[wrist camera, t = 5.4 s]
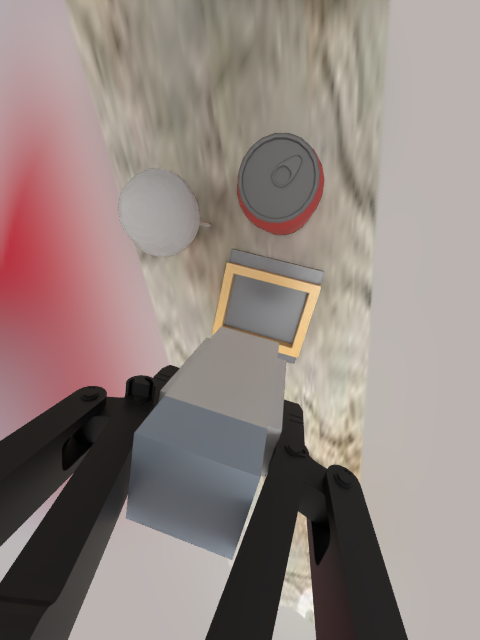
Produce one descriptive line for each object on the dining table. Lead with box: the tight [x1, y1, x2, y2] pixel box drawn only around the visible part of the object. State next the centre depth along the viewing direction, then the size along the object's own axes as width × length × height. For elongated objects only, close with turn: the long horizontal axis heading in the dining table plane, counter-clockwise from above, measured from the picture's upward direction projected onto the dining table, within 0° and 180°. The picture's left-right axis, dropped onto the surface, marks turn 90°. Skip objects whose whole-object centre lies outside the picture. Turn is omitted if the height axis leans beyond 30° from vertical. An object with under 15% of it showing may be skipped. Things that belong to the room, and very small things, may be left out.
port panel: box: [212, 249, 324, 364], centre depth 32 cm, size 12×11×2 cm
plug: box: [126, 326, 279, 560], centre depth 13 cm, size 4×4×10 cm
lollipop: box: [118, 168, 211, 257], centre depth 24 cm, size 6×6×15 cm
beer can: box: [237, 133, 324, 235], centre depth 23 cm, size 7×7×12 cm
